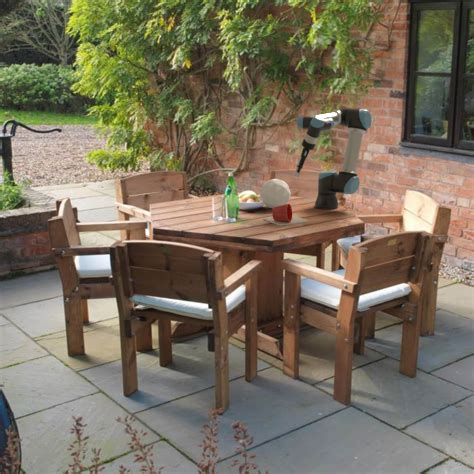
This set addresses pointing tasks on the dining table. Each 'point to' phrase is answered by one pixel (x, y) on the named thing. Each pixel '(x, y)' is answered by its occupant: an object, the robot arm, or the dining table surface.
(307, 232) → the dining table surface
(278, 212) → the flower pot
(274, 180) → the geometric orb
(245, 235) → the dining table surface
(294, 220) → the stone tile
